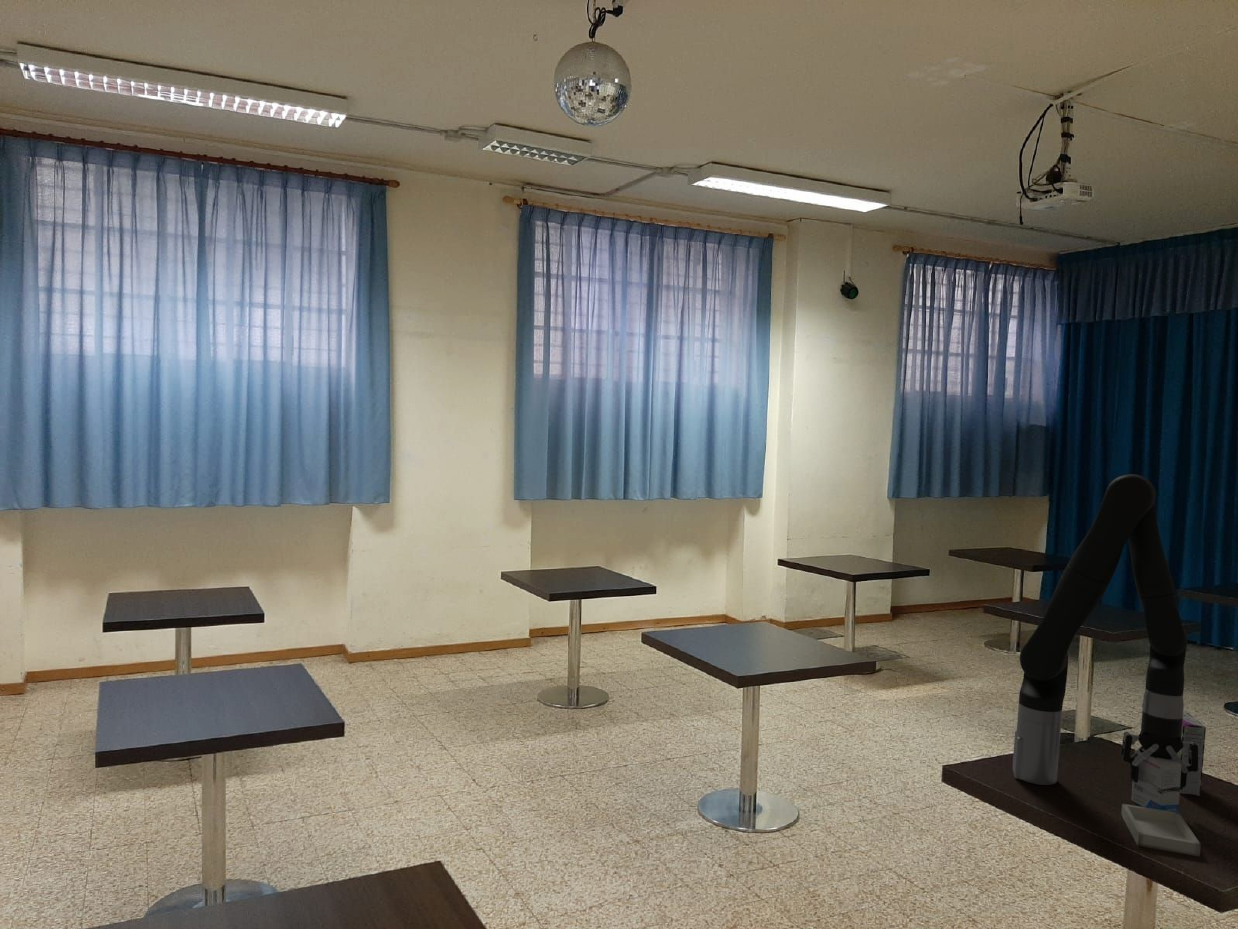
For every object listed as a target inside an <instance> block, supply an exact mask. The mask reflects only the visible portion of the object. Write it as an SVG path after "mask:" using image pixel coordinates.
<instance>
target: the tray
mask: <svg viewBox="0 0 1238 929" xmlns="http://www.w3.org/2000/svg"><path fill="white" fill-rule="evenodd" d="M1120 813H1121V814H1120V815H1121V817H1122V819H1123V821H1124V823H1125V825H1126V827H1127V828H1128V830H1129V832H1130V835H1131V836H1132V838H1133V840H1134V841H1135V844H1136V845H1137V847H1143V848H1149V849H1155V850H1160V851H1164V852H1165V851H1166V852H1171V853H1177V854H1183V855H1189V856H1193V857H1200V855H1201V845H1202V844H1201V843H1200V841H1199V840H1198V838H1197V837H1196V835H1195V834H1194V833H1193V831H1192V830H1191V828H1190V827H1189V825H1188V824H1187V822H1186V821H1185V819H1184V818H1183V816H1182V814H1180V812H1179V813H1176V812H1170V811H1164V810H1157V809H1151V808H1145V807H1142V806H1140V805H1139V806H1138V805H1134V804H1133V805H1132V804H1126V803H1122V804H1121V812H1120Z"/></svg>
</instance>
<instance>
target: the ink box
mask: <svg viewBox="0 0 1238 929" xmlns="http://www.w3.org/2000/svg"><path fill="white" fill-rule="evenodd" d="M1138 749H1139V748H1137V749H1134V754H1135V753H1136V751H1137V750H1138ZM1138 766H1139V773H1138V783H1136V782H1133V781H1132V784H1131V786H1132V788H1131V802H1133V803H1135V804H1137V805H1139V807H1145V808H1151V809H1157V810H1164V811H1170V812H1176V813H1179V814H1180V812H1179V810H1180V795H1181V794H1180V780H1181V763H1179V762H1175V761H1174V760H1173V759H1169V760H1168V759H1163V758H1155V757H1152V756H1149V757H1148V758H1147V759H1145V760H1143V761H1142V762H1141V763H1140V764H1138Z"/></svg>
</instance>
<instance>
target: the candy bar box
mask: <svg viewBox="0 0 1238 929" xmlns="http://www.w3.org/2000/svg"><path fill="white" fill-rule="evenodd" d="M1206 729H1207V726H1205V725H1204V724H1203V723H1201V722H1200V721H1199V720H1198V719H1196V718H1195V717H1194V716H1192V715H1191V714H1190V713H1188V712H1187V711H1185V710H1183V721H1182V735H1181V740H1182V742H1189V741H1194V742H1195V743H1196V744H1197V746H1198V771H1197V772H1194V771H1191V772H1188V773H1187V780H1186V786H1185V787H1183V789H1182V790H1181V789H1180V795H1187V796H1196V797H1197V796H1199V797H1201V792H1202V790H1201V789H1202V781H1203V771H1204V770H1203V768H1204V767H1203V766H1204V756H1205V755H1204V754H1205V742H1206V732H1207V730H1206ZM1177 755H1178V756H1179V758H1180V759H1181V761H1182V762H1183V763H1184V764H1188V752H1187V751H1186V750H1185V747H1183V748H1182V749H1181V750H1180V751H1179V752H1178V753H1177ZM1171 759H1172V758H1171Z"/></svg>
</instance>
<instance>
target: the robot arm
mask: <svg viewBox="0 0 1238 929" xmlns="http://www.w3.org/2000/svg"><path fill="white" fill-rule="evenodd" d="M1156 498H1157V492H1156V488H1155V486H1154V484H1153V482H1152V481H1150V479H1149V478H1146V477H1145V476H1142V475H1140V474H1136V473H1128V474H1124V475H1120V476H1118V477H1116V478H1115V479H1112V481H1110V483H1109V484H1108V486H1107V488H1106V490H1105V493H1104V496H1103V499H1102V501H1101V505H1100V506H1099V510H1098V511H1097V514H1096V516H1095V519H1094V521H1093V524H1092V525H1091V527H1090V528H1089V531H1088V532H1087V533H1086V535H1085V536H1084V538H1083V539H1082V540H1081V542H1080V543H1079V544H1078V546H1077V548H1076V550H1075V551H1074V553H1073V554H1072V556H1071V558H1070V559H1069V561H1068V563H1067V565H1066V567H1065V568H1064V570H1063V572H1062V574H1061V576H1060V578H1059V580H1058V583H1057V585H1056V587H1055V589H1054V591H1053V594H1052V596H1051V598H1050V601H1049V604H1048V606H1047V609H1046V611H1045V613H1044V615H1043V617H1042V619H1041V620H1040V623H1039V624H1038V625H1037V628H1036V629H1035V630H1034V632H1033V633H1032V635H1031V636H1030V637H1029V639H1028V640H1027V642H1026V643H1025V644H1024V645H1023V647H1022V648H1021V650H1020V654H1019V662H1020V667H1021V669H1022V670H1023V679H1022V682H1021V685H1020V686H1021V687H1020V690H1019V694H1018V696H1019V697H1018V708H1017V722H1016V730H1015V731H1014V739H1013V740H1014V741H1013V756H1012V774H1013V778H1015V779H1017V780H1021V781H1024V782H1027V783H1030V784H1034V785H1040V786H1051V785H1055V784H1057V781H1058V774H1059V772H1058V768H1059V757H1060V743H1061V732H1062V720H1063V719H1062V717H1063V707H1064V706H1063V705H1064V699H1065V696H1066V690H1067V679H1068V669H1069V654H1068V651H1069V648H1070V647H1071V644H1072V641H1073V640H1074V638H1075V636H1076V634H1077V632H1078V631H1079V630H1080V628H1081V627H1082V625H1084V623H1085V622H1086V621H1087V620H1088V618H1089V617H1090V616H1091V615H1092V613H1093V612H1094V610H1095V609H1096V608H1097V605H1098V604H1099V603H1100V602H1101V600H1102V598H1103V597H1104V594H1105V593H1106V591H1107V589H1108V588H1109V587H1110V586H1109V585H1110V584H1111V582H1112V579H1113V577H1114V576H1115V574H1116V572H1117V568H1118V566H1119V563H1120V560H1121V557H1122V553H1123V550H1124V549H1125V548H1124V547H1125V545H1126V543H1127V542H1128V547H1129V553H1130V554H1129V555H1130V560H1131V569H1132V574H1133V579H1134V583H1135V587H1136V590H1137V591H1136V592H1137V594H1138V595H1137V596H1138V599H1139V602H1140V604H1141V607H1142V611H1143V616H1144V617H1143V618H1144V623H1145V629H1146V635H1147V639H1148V643H1149V662H1148V665H1147V669H1146V675H1145V688H1144V693H1143V699H1142V704H1141V708H1142V710H1141V711H1142V712H1141V721H1140V722H1141V724H1140V733H1139V734H1138V735H1137V734H1132V733H1130V732H1129V731H1125V732H1123V736H1122V744H1121V751H1120V757H1121V759H1122V760H1123V761H1124V762H1126V763H1128V764H1129V769H1128V770H1129V771H1128V775H1129V778H1130V779H1131V780H1132V783H1133V782H1136V783H1138V773H1139V766H1138V764H1140V763H1141V762H1142V761H1143V760H1145V759H1147V758H1148V757H1149V756H1152V757H1155V758H1163V759H1168V760H1169V759H1171V758H1172V759H1173V760H1174V761H1175V762H1179V763H1181V780H1180V789H1181V790H1182V789H1183V787H1185V786H1186V780H1187V773H1188V772H1191V771H1194V772H1197V771H1198V746H1197V744H1196V743H1195V742H1194V741H1189V742H1182V740H1181V735H1182V721H1183V711H1184V707H1185V706H1184V688H1185V670H1184V669H1185V662H1186V655H1187V646H1188V639H1189V638H1188V632H1187V629H1186V628H1185V626H1184V625H1183V623H1182V622H1183V621H1182V618H1181V615H1180V612H1179V610H1178V609H1179V608H1178V598H1177V593H1176V589H1175V585H1174V580H1173V577H1172V575H1171V570H1170V568H1169V564H1168V561H1167V557H1166V553H1165V552H1164V548H1163V544H1162V540H1161V536H1160V531H1159V525H1158V518H1157V505H1156V504H1157V502H1156ZM1136 742H1138V743H1139V744H1140V745H1141V746H1140V747H1138V748H1137V749H1138V750H1137V749H1136V750H1137V751H1136V753H1135V752H1134V753H1133V754H1132V755H1131V750H1132V745H1135V744H1136ZM1183 747H1185V750H1186V751H1187V752H1188V764H1184V763H1183V762H1182V761H1181V759H1180V758H1179V756H1178V755H1177V753H1178V752H1179V751H1180V750H1181V749H1182V748H1183Z"/></svg>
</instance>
